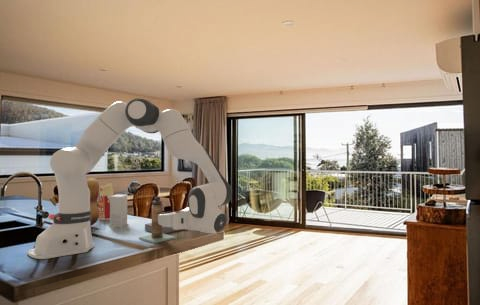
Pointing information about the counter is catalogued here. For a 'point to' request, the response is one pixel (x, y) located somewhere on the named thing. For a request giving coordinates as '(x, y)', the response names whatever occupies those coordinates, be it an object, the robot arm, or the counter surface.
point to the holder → (165, 229)
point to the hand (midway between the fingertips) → (169, 214)
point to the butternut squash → (93, 198)
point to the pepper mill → (156, 210)
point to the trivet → (156, 240)
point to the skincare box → (118, 210)
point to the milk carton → (105, 201)
